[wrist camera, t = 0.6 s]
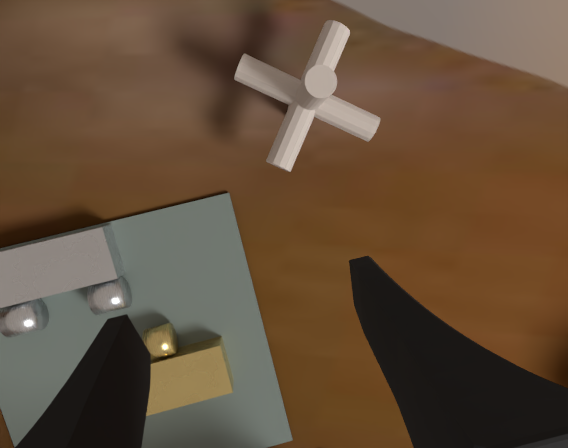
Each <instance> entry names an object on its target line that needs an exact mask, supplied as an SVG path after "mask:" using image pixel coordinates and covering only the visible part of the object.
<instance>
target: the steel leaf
mask: <svg viewBox="0 0 568 448" xmlns="http://www.w3.org/2000/svg"><path fill="white" fill-rule="evenodd" d="M124 273H126V272H125V269H124V266H123V262H122V259H121V256H120V252H119V249H118V245H117V242H116V239H115V235H114V232H113V229H112V225H111V224H109V225H105V226H101V227H97V228H93V229H89V230H85V231H81V232H77V233H73V234H68V235H64V236H60V237H56V238H52V239H48V240H44V241H40V242H36V243H32V244H27V245H23V246H19V247H15V248H11V249H7V250H3V251H0V308H1V309H0V332H1V333H2V334H3V335H4V336H5V337H7V338H11V337H15V336H19V335H23V334H27V333H31V332H35V331H39V330H43V329H45V328H46V327H47V325H48V322H49V313H48V309H47V306H46V304H45V303H44V302H43V301H42V300H41V299H39V298H43V297H47V296H51V295H55V294H59V293H63V292H67V291H70V290H74V289H78V288H82V287H86V286H89V287H88V290H87V299H88V304H89V307H90V309H91V311H92V312H93V313H94V314H95V315H101V314H105V313H109V312H113V311H117V310H121V309H125V308H128V307H130V306H131V303H132V294H131V289H130V286H129V283H128V281H127V280H126V279H125V278H124V277H120V276H122V275H123V274H124ZM119 277H120V278H119Z"/></svg>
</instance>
